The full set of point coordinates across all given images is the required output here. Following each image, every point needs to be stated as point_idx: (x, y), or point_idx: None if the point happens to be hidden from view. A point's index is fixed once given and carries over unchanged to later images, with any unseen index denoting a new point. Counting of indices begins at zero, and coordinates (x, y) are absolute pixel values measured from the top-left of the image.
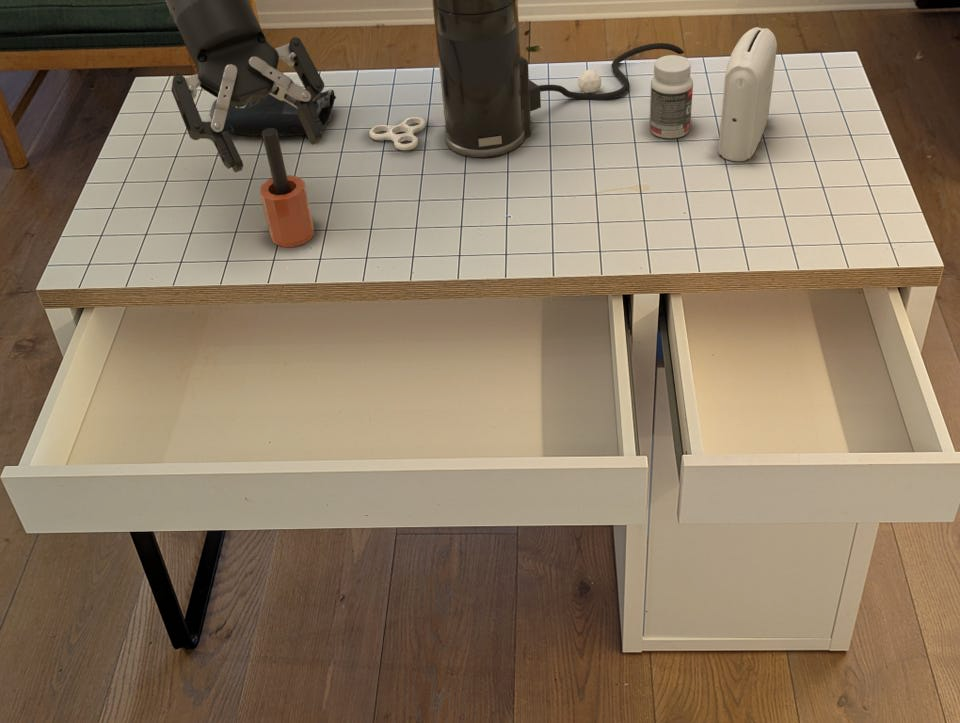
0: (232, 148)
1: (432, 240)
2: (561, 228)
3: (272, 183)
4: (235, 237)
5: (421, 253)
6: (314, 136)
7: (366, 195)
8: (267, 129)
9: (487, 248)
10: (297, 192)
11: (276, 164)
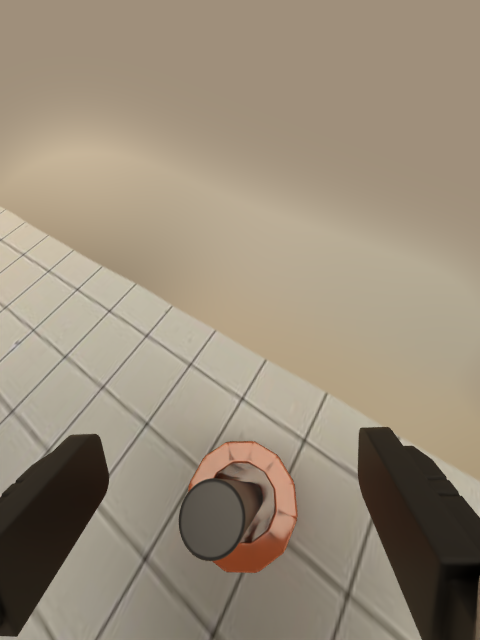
0: (404, 470)
1: (108, 351)
2: (7, 297)
3: (254, 540)
4: (352, 573)
5: (135, 336)
6: (92, 439)
7: (87, 534)
8: (208, 549)
9: (80, 306)
10: (221, 451)
11: (238, 481)
